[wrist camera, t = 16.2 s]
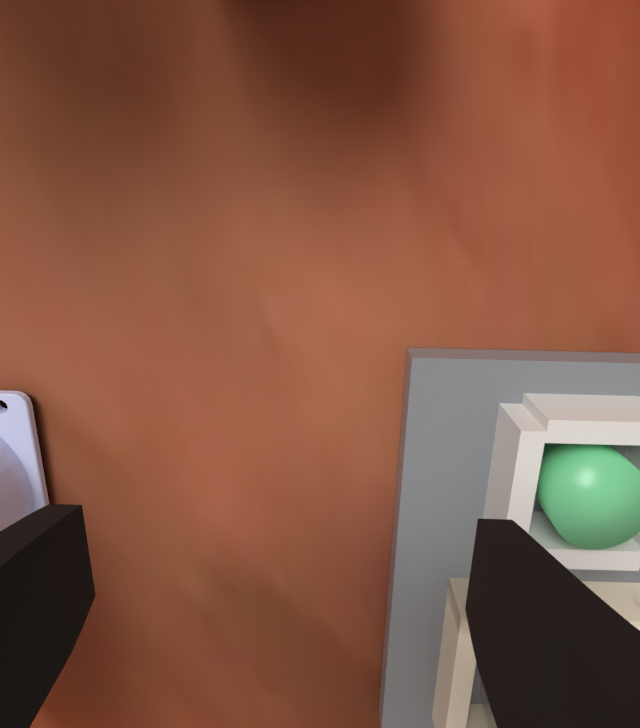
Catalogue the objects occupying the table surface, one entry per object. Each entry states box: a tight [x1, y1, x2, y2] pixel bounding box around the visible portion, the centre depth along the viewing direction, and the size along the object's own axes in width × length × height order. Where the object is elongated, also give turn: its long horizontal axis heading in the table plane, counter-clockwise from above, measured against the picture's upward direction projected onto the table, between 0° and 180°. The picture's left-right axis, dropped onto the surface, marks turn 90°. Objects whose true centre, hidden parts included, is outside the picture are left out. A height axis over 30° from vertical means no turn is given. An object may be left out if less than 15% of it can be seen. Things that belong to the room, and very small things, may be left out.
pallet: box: [379, 347, 640, 728], centre depth 20 cm, size 12×18×3 cm, turn 179°
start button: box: [535, 443, 640, 549], centre depth 18 cm, size 3×3×2 cm
